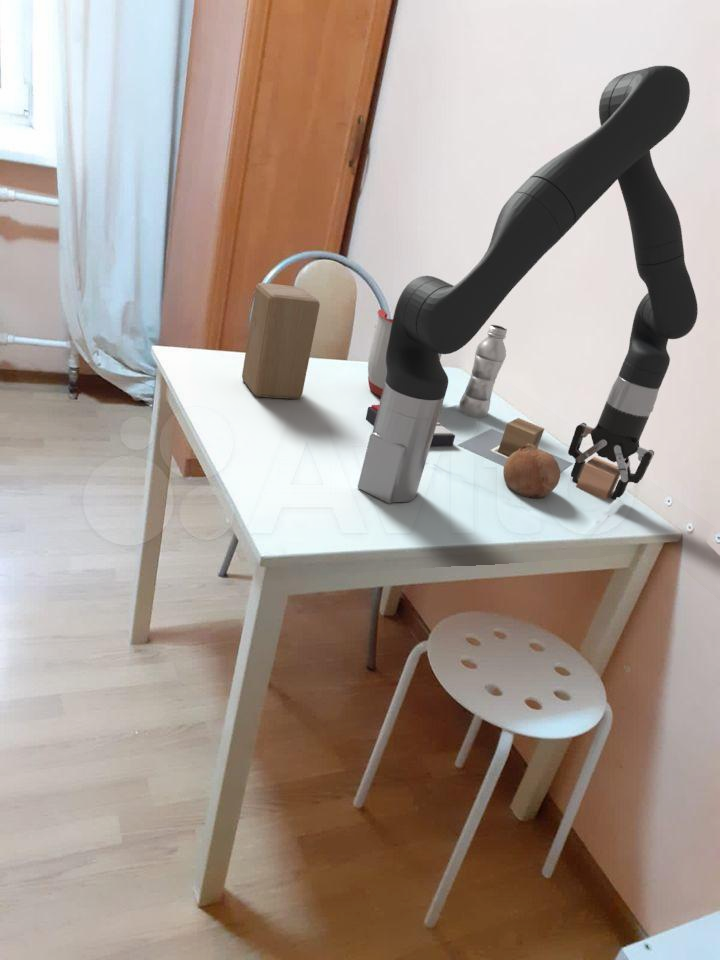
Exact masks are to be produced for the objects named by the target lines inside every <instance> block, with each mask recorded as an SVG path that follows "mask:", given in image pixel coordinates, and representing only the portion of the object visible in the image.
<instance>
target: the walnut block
mask: <svg viewBox="0 0 720 960" xmlns="http://www.w3.org/2000/svg"><path fill="white" fill-rule="evenodd" d="M544 431H545V428H543V427H541V426H539V425H537V424H534V423H532V422H529V421H528V420H527V421H526V420H525V419H521V418H520V417H518V418H515V419H513V420H511V421H509V422H507V423H506V426H505V430H504V432H503V433H504V435H503V438H502V440H501V443H500V446H499V449H498V452H499V453H501V454H504V455H506V456H508V457H509V456H510V455H511V454H513V453H514V452H516V451H518V450H519V449H520V448H521V447H523V446H525V445H526V444H527V443H528V444H529V443H530V444H532V445H534V446H536V447H537V448H538V449H539V445H540V442H541V438H542V437H543V434H544Z"/></svg>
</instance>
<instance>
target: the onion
mask: <svg viewBox="0 0 720 960" xmlns="http://www.w3.org/2000/svg"><path fill="white" fill-rule="evenodd" d="M539 449H540V448H538V449H537V447H536V446H534V445H532V444H530V443H529V444H528V443H527V444H526V445H525V446H523V447H521V448H520V449H519V450H518V451H516V452H514V453H513V454H511V455H510V456H509V458H508V459H507V460H506V462H505V465H504V466H503V474H502V475H503V480H504V483H505V484H506V486H507V488H508V489H510V490H511V491H513V492H514V493H516V494H518V495H520V496H523V497H527V498H530V499H538V500H540V499H543V498H544V497H545V496H547V495H548V494H550V493H552V492H553V491H554V490H555V488H557V487H558V485H559V481H560V477H561V473H560V469H559V465H558V463H557V461H556V460H555V459H554V457H553V456H552V455H553V454H552V453H550V452H548V451H545V450H543V449H541V450H539ZM542 450H543V451H542ZM544 451H545V452H544ZM547 452H548V453H547ZM549 453H550V454H549ZM551 454H552V455H551Z"/></svg>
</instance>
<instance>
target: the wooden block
mask: <svg viewBox="0 0 720 960" xmlns="http://www.w3.org/2000/svg"><path fill="white" fill-rule="evenodd" d="M253 297H254V298H253V304H252V310H251V316H250V321H249V323H250V324H249V328H248V335H247V341H246V348H245V355H244V359H243V367H242V373H241V377H242V381H243V382H244V383H245V385H246V386H247V387H248V388H249V390H250V391H251V393H252V394H253V395H254V396H255V397H257V398H272V399H274V398H276V399H294V400H295V399H296V400H299V399H301V398H302V396H303V392H304V387H305V382H306V376H307V372H308V368H309V367H308V366H309V362H310V357H311V352H312V351H311V350H312V347H313V341H314V336H315V331H316V325H317V322H318V321H317V320H318V316H319V311H320V305H321V304H320V301H319V300H318V299H316V298H315V296H313V295H311V294H310V293H309V292H308V291H306V289H304V288H303V287H301V286H300V287H299V286H291V285H284V284H278V283H277V284H276V283H268V282H259V283H257V284H256V286H255V290H254V296H253Z"/></svg>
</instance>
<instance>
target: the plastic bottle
mask: <svg viewBox="0 0 720 960" xmlns="http://www.w3.org/2000/svg"><path fill="white" fill-rule="evenodd" d="M507 332H508V329H507V328H506V327H504V326H501V325H497V324H490V325H489V328H488V331H487V337H486V338H484V339H483V340H481V342H480V343H478V345H477V346H476V349H475V354H474V360H473V366H472V370H471V374H470V377H469V380H468V383H467V385H466V387H465V391H464V392H463V394H462V396H461V399H460V401H459V405H458V409H459V411H460V412H461V413H463V414H464V415H467V416H470V417H473V418H478V419H479V418H485V417H486V416H487V415H488V413H489V411H490V406H491V398H492V394H493V390H494V386H495V382H496V379H497V377H498V375H499V372H500V370H501V368H502V367H503V363H504V362H505V359H506V357H507V350H506V345H505V343H504V340H505V339H506V337H507V336H506V335H507Z"/></svg>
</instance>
